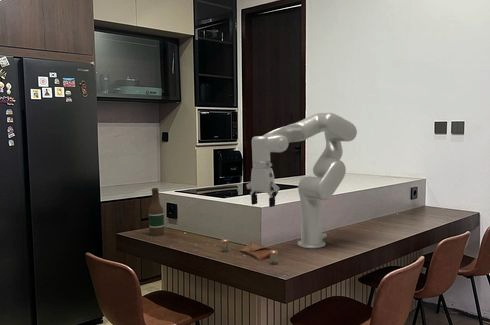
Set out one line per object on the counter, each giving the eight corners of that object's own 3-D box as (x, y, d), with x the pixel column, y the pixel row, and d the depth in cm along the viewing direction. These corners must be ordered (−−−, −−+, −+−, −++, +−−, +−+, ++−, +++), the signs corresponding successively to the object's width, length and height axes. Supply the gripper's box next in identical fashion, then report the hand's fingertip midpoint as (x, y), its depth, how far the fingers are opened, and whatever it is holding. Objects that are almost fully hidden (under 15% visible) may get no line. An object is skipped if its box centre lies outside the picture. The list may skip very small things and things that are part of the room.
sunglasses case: (236, 251, 212) (242, 237, 214) (248, 256, 216) (253, 242, 218) (260, 260, 198) (267, 245, 199) (272, 266, 201) (278, 251, 203)
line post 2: (273, 261, 196) (273, 249, 196) (279, 263, 194) (279, 250, 193) (268, 263, 194) (268, 251, 193) (274, 265, 192) (274, 252, 191)
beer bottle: (146, 234, 247) (144, 188, 245) (159, 231, 252) (157, 186, 250) (154, 237, 241) (152, 189, 239) (167, 234, 247) (165, 188, 244)
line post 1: (225, 249, 215) (224, 238, 215) (230, 251, 213) (229, 239, 213) (220, 251, 213) (219, 240, 212) (225, 252, 211) (224, 241, 210)
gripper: (283, 165, 199) (284, 205, 201) (251, 163, 211) (253, 201, 212) (272, 167, 194) (273, 209, 195) (240, 165, 205) (242, 204, 207)
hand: (263, 205), depth 204 cm, fingers open, 9 cm apart
